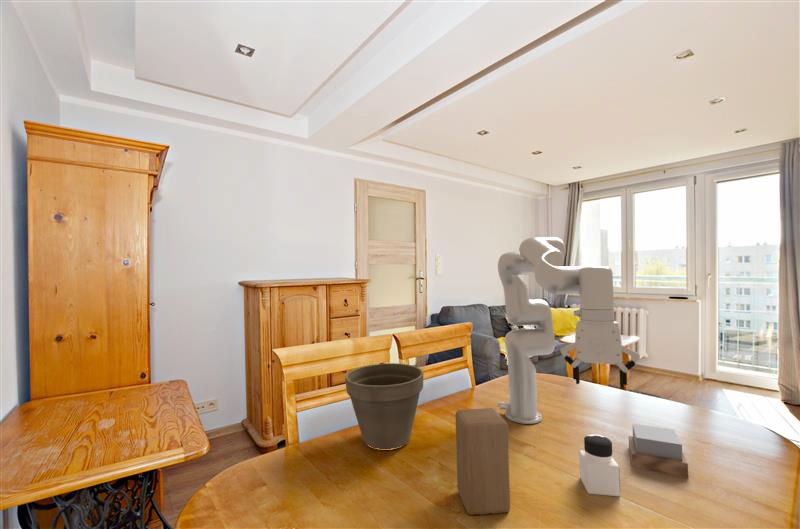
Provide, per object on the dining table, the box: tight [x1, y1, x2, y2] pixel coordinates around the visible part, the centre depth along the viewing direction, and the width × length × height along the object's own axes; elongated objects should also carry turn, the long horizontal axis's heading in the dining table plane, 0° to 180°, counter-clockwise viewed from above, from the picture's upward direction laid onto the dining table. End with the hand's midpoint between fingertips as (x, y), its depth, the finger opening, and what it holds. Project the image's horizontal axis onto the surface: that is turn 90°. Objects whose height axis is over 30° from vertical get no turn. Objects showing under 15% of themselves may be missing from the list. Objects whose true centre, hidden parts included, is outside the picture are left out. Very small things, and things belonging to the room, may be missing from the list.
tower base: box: [628, 435, 689, 479], centre depth 102 cm, size 12×12×4 cm
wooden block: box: [455, 407, 511, 516], centre depth 86 cm, size 10×10×20 cm
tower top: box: [631, 423, 683, 460], centre depth 102 cm, size 10×10×4 cm
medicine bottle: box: [578, 433, 621, 497], centre depth 91 cm, size 7×7×12 cm
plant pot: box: [344, 362, 424, 449], centre depth 118 cm, size 25×25×22 cm
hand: (599, 384), depth 91 cm, fingers open, 9 cm apart
